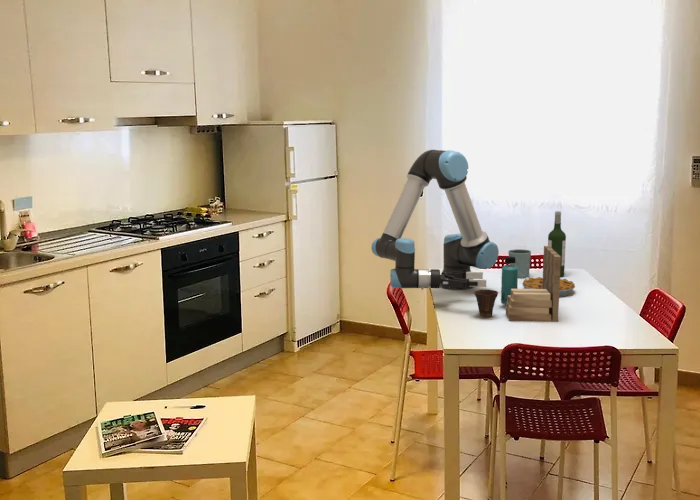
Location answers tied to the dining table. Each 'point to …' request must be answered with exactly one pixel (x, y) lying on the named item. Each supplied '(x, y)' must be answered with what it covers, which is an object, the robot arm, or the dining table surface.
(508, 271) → the beverage bottle
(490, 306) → the cup
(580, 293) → the dining table surface
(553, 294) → the offcut rack
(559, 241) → the wine bottle
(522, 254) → the grey plastic cylinder
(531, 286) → the pie
